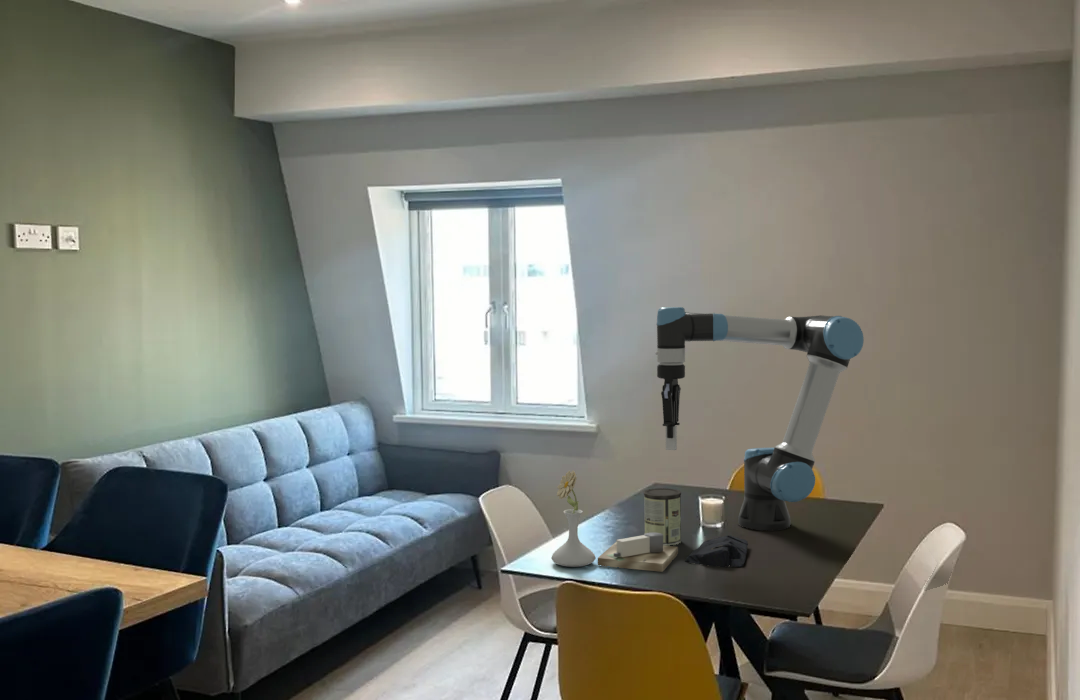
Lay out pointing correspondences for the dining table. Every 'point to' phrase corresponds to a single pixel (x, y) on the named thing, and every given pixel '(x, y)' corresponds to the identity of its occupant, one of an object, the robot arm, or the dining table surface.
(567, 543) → the flower in vase
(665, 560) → the board
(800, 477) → the robot arm
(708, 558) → the dark slate chunk
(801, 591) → the dining table surface
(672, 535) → the coffee can
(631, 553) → the peg
